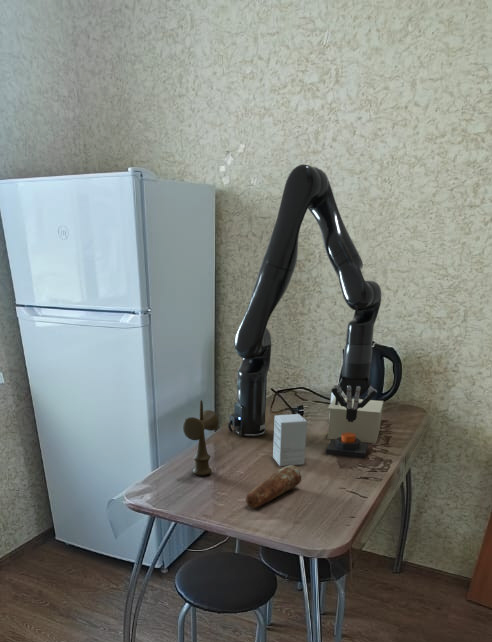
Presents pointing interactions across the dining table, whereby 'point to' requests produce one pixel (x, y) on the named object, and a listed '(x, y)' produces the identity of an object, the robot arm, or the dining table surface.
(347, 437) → the release button
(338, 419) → the hinged lid box
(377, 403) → the box lid
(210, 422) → the kendama
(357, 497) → the dining table surface
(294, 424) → the white packaging box
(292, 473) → the bread
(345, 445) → the button block
